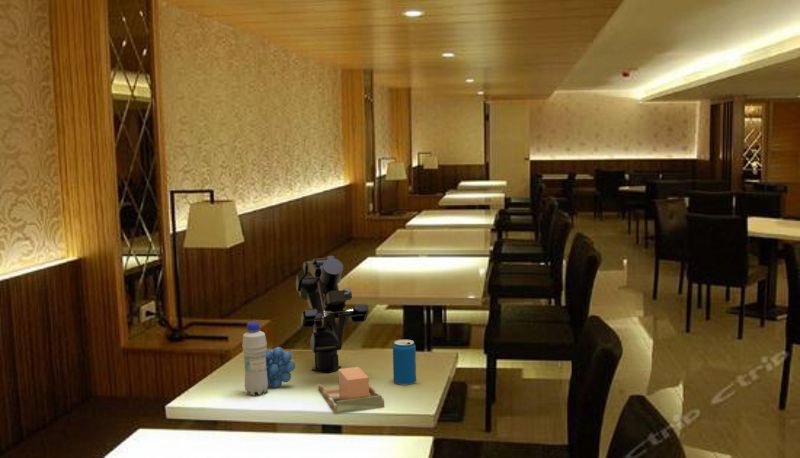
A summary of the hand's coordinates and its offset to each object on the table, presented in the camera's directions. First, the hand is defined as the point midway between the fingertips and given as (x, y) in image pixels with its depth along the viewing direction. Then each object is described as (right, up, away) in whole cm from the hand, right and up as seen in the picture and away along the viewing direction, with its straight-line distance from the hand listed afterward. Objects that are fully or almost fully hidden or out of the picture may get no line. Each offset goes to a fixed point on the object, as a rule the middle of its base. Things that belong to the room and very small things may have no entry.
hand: (340, 341), depth 210 cm
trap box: (+3, -15, -8) cm, 17 cm away
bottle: (-23, -14, 0) cm, 27 cm away
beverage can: (+18, -13, +5) cm, 23 cm away
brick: (+5, -14, -12) cm, 19 cm away
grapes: (-18, -14, +4) cm, 23 cm away
